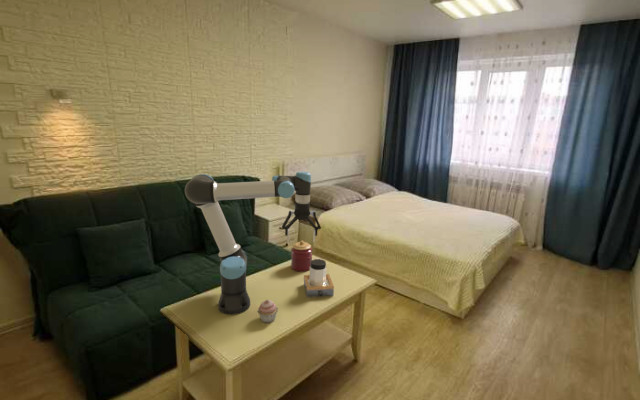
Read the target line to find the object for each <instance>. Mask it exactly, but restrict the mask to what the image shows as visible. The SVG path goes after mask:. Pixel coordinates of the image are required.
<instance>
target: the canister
mask: <svg viewBox="0 0 640 400" xmlns="http://www.w3.org/2000/svg"><path fill="white" fill-rule="evenodd" d="M312 252H313V247H312V244H310V243H309V242H306V241H304V240H300V241H297V242H295V243H294V244H293V245H292V247H291V255H290V256H291V264H290V266H291V269H292V270H293V271H296V272H308V271H310V266H311V261H312V260H313V253H312Z"/></svg>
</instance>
